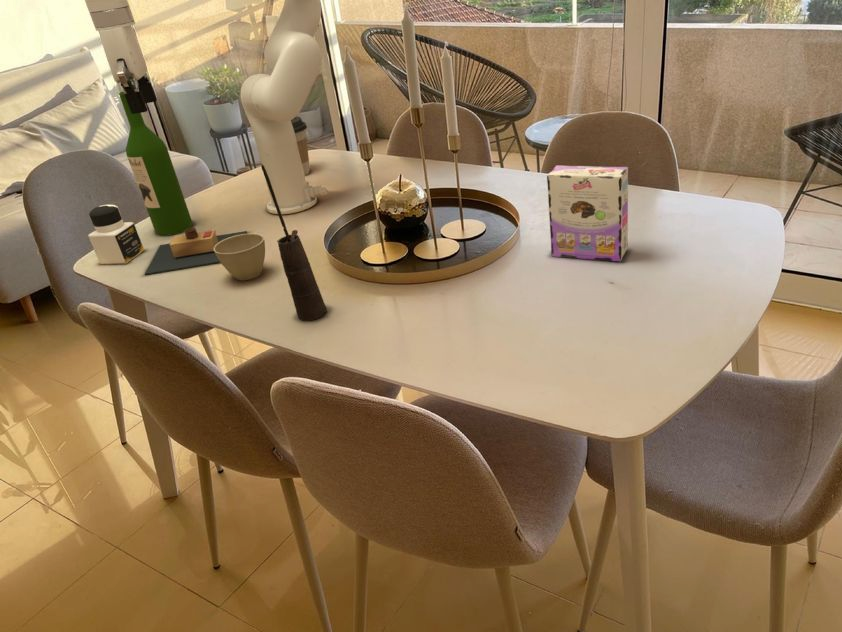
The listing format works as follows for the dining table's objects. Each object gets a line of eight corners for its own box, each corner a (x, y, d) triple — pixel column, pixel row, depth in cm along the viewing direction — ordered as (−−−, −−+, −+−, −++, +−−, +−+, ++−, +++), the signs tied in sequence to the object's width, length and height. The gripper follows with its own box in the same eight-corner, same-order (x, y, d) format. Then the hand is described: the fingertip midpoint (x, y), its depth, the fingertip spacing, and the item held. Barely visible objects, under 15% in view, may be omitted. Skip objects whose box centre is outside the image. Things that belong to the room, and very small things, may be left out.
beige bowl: (282, 265, 145) (273, 233, 141) (255, 287, 137) (245, 254, 133) (242, 263, 148) (232, 232, 144) (213, 284, 140) (202, 252, 136)
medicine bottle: (126, 264, 155) (105, 213, 149) (99, 264, 157) (77, 214, 150) (145, 250, 161) (125, 201, 154) (118, 250, 162) (98, 202, 156)
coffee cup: (271, 181, 195) (256, 128, 187) (286, 168, 205) (273, 116, 197) (308, 179, 193) (295, 125, 185) (322, 166, 202) (310, 113, 194)
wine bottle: (147, 234, 169) (95, 97, 152) (173, 220, 176) (125, 87, 159) (175, 236, 166) (125, 96, 149) (200, 222, 173) (155, 86, 156)
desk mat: (247, 232, 163) (246, 230, 163) (239, 259, 150) (238, 258, 150) (160, 246, 162) (160, 244, 162) (145, 275, 148) (144, 273, 148)
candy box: (628, 250, 133) (630, 165, 124) (620, 263, 128) (621, 176, 120) (559, 244, 138) (556, 163, 130) (550, 256, 134) (545, 173, 125)
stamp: (174, 259, 153) (166, 237, 150) (179, 250, 157) (171, 228, 154) (215, 252, 154) (208, 230, 151) (219, 243, 158) (212, 222, 155)
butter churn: (310, 295, 131) (272, 148, 117) (350, 303, 127) (315, 151, 112) (277, 318, 125) (232, 165, 110) (317, 327, 120) (275, 169, 106)
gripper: (105, 17, 145) (135, 101, 154) (81, 27, 130) (116, 120, 139) (141, 11, 145) (170, 96, 154) (122, 21, 131) (154, 113, 140)
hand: (144, 107), depth 147 cm, fingers open, 9 cm apart
